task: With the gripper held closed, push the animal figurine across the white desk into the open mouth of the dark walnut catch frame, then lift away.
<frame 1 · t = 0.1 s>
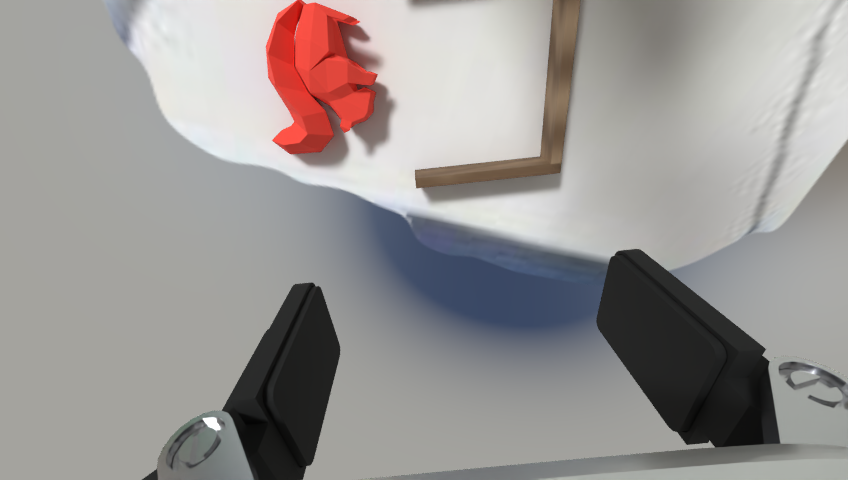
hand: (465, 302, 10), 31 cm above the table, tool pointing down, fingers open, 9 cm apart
animal figurine: (326, 91, 35), on the table
catch frame: (476, 74, 35), on the table
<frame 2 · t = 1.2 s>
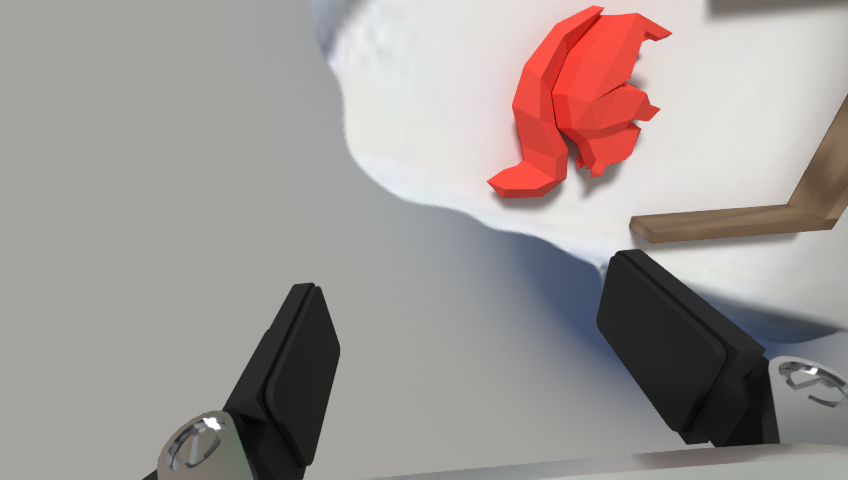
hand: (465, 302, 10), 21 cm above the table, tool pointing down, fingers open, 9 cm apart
animal figurine: (557, 121, 28), on the table
catch frame: (753, 106, 27), on the table
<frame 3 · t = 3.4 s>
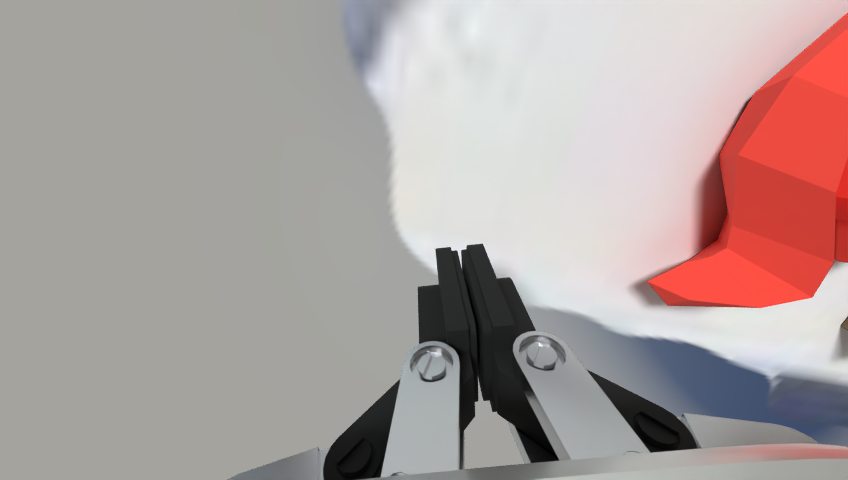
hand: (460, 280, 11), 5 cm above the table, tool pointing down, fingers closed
animal figurine: (774, 172, 15), on the table
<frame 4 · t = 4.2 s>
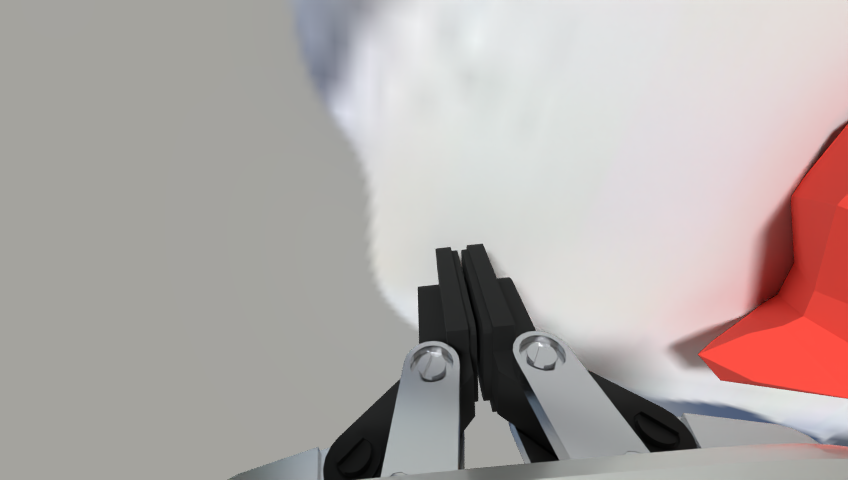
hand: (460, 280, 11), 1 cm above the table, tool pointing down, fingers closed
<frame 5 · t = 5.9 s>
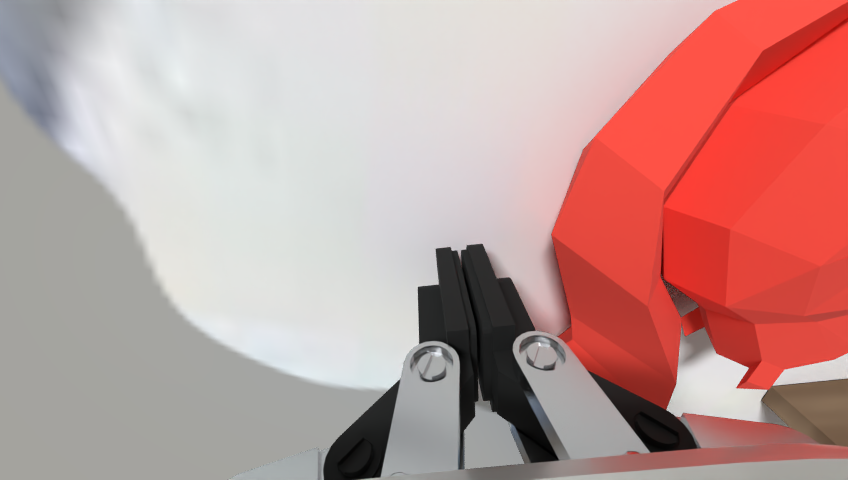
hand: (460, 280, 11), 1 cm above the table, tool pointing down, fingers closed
animal figurine: (643, 238, 12), on the table, touching gripper
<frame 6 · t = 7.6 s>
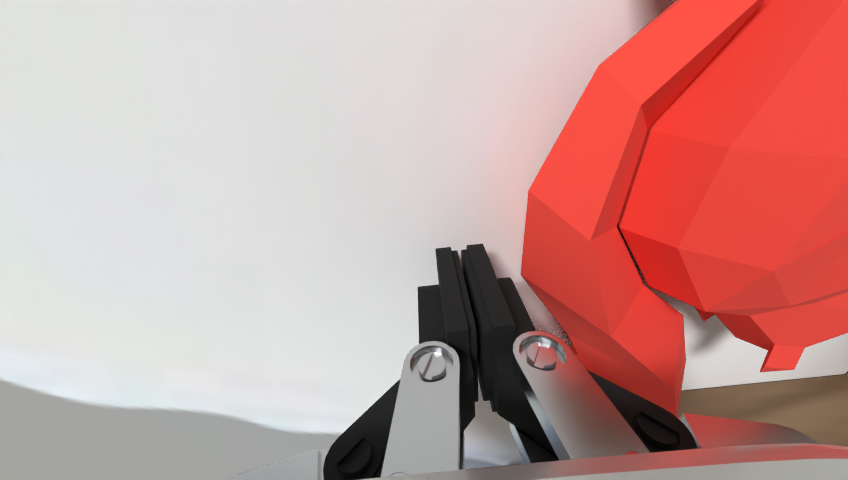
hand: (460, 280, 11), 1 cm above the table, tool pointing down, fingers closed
animal figurine: (632, 237, 12), on the table
catch frame: (775, 225, 12), on the table
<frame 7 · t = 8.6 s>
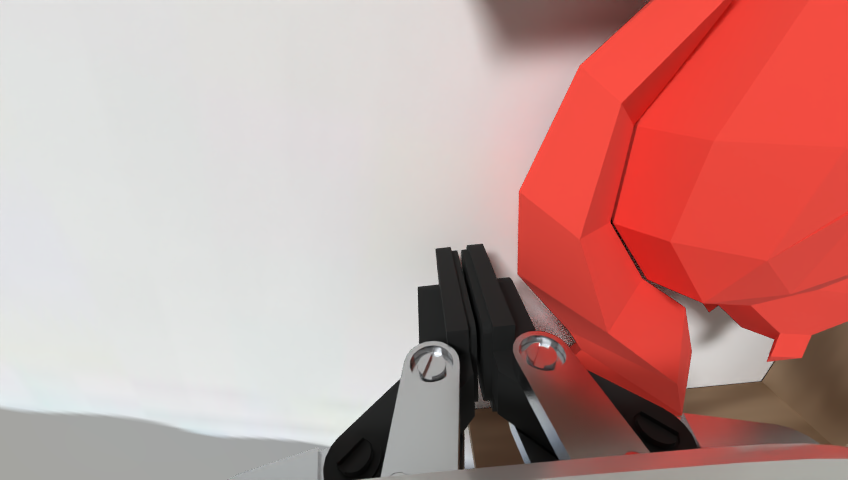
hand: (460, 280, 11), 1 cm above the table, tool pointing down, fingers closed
animal figurine: (631, 231, 12), on the table, touching gripper
catch frame: (661, 236, 12), on the table
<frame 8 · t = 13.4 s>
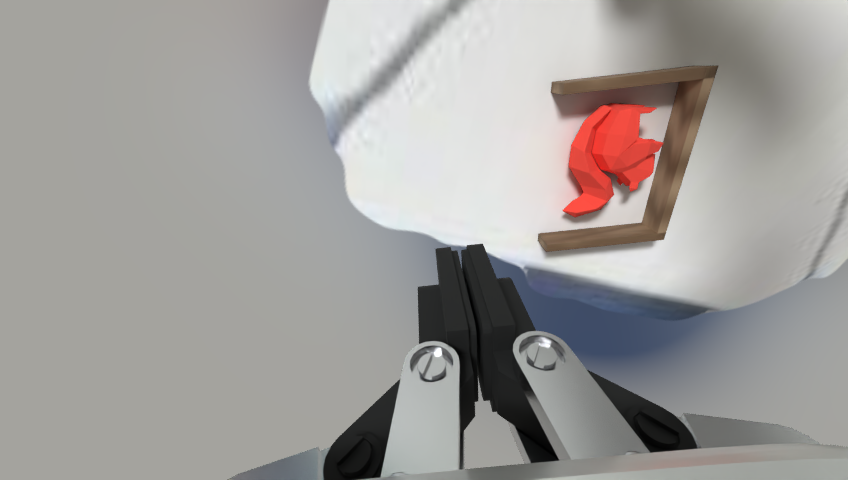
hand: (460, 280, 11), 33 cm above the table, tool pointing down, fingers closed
animal figurine: (598, 161, 44), on the table
catch frame: (601, 164, 43), on the table
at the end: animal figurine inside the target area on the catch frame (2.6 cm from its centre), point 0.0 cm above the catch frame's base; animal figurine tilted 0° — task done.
